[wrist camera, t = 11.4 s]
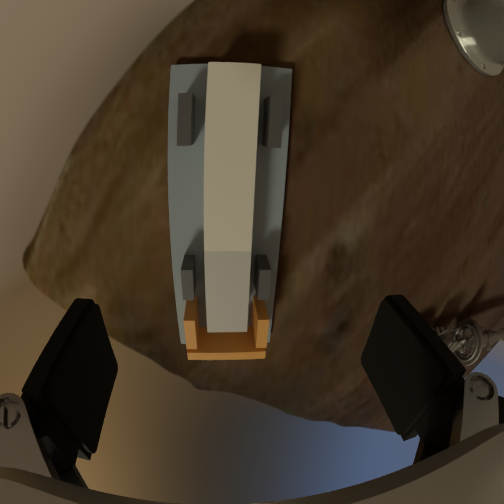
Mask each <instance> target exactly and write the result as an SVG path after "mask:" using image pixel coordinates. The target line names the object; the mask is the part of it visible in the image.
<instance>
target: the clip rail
mask: <svg viewBox="0 0 504 504" xmlns="http://www.w3.org/2000/svg"><path fill="white" fill-rule="evenodd" d="M207 75H208V64H182V65H171V75H170V92H169V115H168V196H169V221H170V239H171V253H172V266H173V278H174V288H175V298H176V307H177V316H178V324H179V332H180V339H181V344H186V347H187V349H188V350H187V354H188V360H237V359H262V358H265V354H266V350H265V348H266V345H267V342H269V341H270V333H271V324H272V315H273V306H274V297H275V288H276V278H277V268H278V258H279V247H280V237H281V226H282V214H283V203H284V190H285V178H286V164H287V150H288V136H289V120H290V103H291V84H292V69H287V68H279V67H269V66H261V79H260V97H259V116H258V135H257V153H256V172H255V191H254V210H253V228H252V247H251V266H250V285H249V304H248V323H247V332H207V317H206V294H205V264H204V143H205V114H206V93H207Z"/></svg>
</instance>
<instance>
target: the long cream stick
mask: <svg viewBox="0 0 504 504" xmlns="http://www.w3.org/2000/svg"><path fill="white" fill-rule="evenodd" d="M260 79H261V64H254V63H235V62H208V75H207V93H206V114H205V143H204V264H205V294H206V317H207V332H247V323H248V304H249V285H250V266H251V247H252V228H253V210H254V191H255V172H256V153H257V135H258V116H259V97H260Z"/></svg>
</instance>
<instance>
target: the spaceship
mask: <svg viewBox="0 0 504 504" xmlns="http://www.w3.org/2000/svg"><path fill="white" fill-rule="evenodd" d="M471 324H472V325H471ZM435 329H436V333H437V334H438V336H439V337H440V338H441V339H442V340H443V342H444V343H445V344H446V345H447V346H448V348H449V349H450V350H451V351H452V353H453V354H454V355H455V356H456V357H457V359H458V360H459V361H460V363H461V364H462V365H464V366H469V365H471V364H473V363H474V362H475V361H476V360H477V359H478V357H479V355H480V353H481V351H482V347H485V349H486V351H489V350H491V345H492V344H493V343H495V342H496V341H497V340H502V341H504V328H501V329H500V330H499V331H498V332H497V331H492V330H485V328H484V327H480V326H479V324H478V323H477V322H476V321H475V320H473V319H470V318H466V319H464V320H462V321H461V322H460V323H459V324H458V325H457V326H456V328H455V330H453V329H451V330H449V331H448V330H444V327H440V329H441V332H442V333H440V330H439V327H436V328H435ZM433 330H434V328H433ZM452 330H453V331H452ZM465 330H467V332H468V331H469V332H470V331H471V333H472V335H471V337H468V336H469V334H468V336H467V333H466V335H465V332H464V331H465ZM446 331H448V332H446ZM450 331H452V332H454V333H453V337H452V339H450V338H446V337H447V336H448V335H449V334H451V333H452V332H450ZM445 332H446V333H445ZM449 332H450V333H449ZM469 332H468V333H469ZM447 333H448V334H447ZM441 334H442V335H441ZM446 334H447V335H446ZM462 335H463V338H462ZM442 336H443V337H442ZM469 346H472V347H473V349H472V352H471V350H470V347H469ZM466 347H467V349H468V352H469V355H466V354H465V351H466ZM464 349H465V351H464ZM476 352H477V353H476ZM469 360H470V361H469Z"/></svg>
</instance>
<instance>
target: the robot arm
mask: <svg viewBox="0 0 504 504" xmlns="http://www.w3.org/2000/svg"><path fill="white" fill-rule="evenodd" d="M443 10H444V16H445V20H446V23H447V26H448V28H449V31H450V33H451V35H452V37H453V40H454V41H455V43H456V45H457V47H458V48H459V50H460V51H461V53H462V54H463V56H464V57H465V58H466V59H467V61H468V62H469V63H470V64H471V65H472V66H473V67H474V68H475V69H476V70H478V71H479V72H480V73H482V74H485V75H490V76H492V75H498V74H500V72H501V71H502V69H503V67H504V0H444V1H443ZM361 363H362V366H363V368H364V370H365V372H366V374H367V375H368V377H369V379H370V381H371V383H372V385H373V387H374V389H375V391H376V393H377V395H378V397H379V399H380V401H381V403H382V405H383V407H384V409H385V411H386V413H387V415H388V417H389V419H390V421H391V423H392V425H393V427H394V429H395V431H396V433H397V434H399V435H401V437H402V439H403V441H405V440H408V439H411V438H413V437H416V436H417V434H418V435H419V437H420V441H419V445H418V449H417V452H416V455H415V459H414V462H413V465H411V466H408V467H406V468H403V469H401V470H398V471H396V472H393V473H390V474H388V475H385V476H382V477H379V478H376V479H373V480H370V481H367V482H364V483H361V484H357V485H354V486H351V487H346V488H343V489H339V490H335V491H331V492H326V493H322V494H317V495H312V496H307V497H301V498H296V499H289V500H282V501H274V502H264V503H253V504H504V398H503V397H500V396H498V392H497V387H496V385H495V383H494V382H493V381H492V379H491V378H490V377H488V376H487V375H485V374H483V373H479V372H473V373H470V374H469V375H468V376H467V377H466V378H465V380H464V378H463V377H462V376H463V375H464V373H465V371H466V369H465V368H464V366H463V365H462V364H461V363H460V361H459V360H458V359H457V357H456V356H455V355H454V354H453V353H452V351H451V350H450V349H449V348H448V346H447V345H446V344H445V343H444V342H443V340H442V339H441V338H440V337H439V336H438V334H437V333H436V332H435V331H434V330H433V328H432V327H431V326H430V325H429V324H428V323H427V322H426V320H425V319H424V318H423V317H422V316H421V315H420V314H419V312H418V311H417V310H416V309H415V308H414V307H413V306H412V305H411V304H410V302H409V301H408V300H407V299H406V298H405V297H404V296H403V295H389V296H386V297H385V299H384V300H383V301H382V302H381V303H380V306H379V309H378V312H377V315H376V318H375V321H374V324H373V327H372V329H371V332H370V335H369V338H368V340H367V343H366V346H365V348H364V351H363V353H362V356H361ZM117 371H118V365H117V361H116V358H115V356H114V353H113V350H112V347H111V344H110V341H109V337H108V334H107V331H106V328H105V324H104V321H103V318H102V314H101V310H100V307H99V305H98V304H95V302H94V301H93V300H92V299H81V298H77V299H75V300H74V302H73V303H72V305H71V306H70V308H69V309H68V311H67V312H66V314H65V315H64V317H63V318H62V320H61V321H60V323H59V325H58V326H57V328H56V329H55V331H54V333H53V334H52V336H51V338H50V339H49V341H48V343H47V344H46V346H45V348H44V349H43V351H42V353H41V355H40V356H39V358H38V360H37V362H36V364H35V365H34V367H33V369H32V371H31V373H30V375H29V377H28V379H27V380H26V382H25V384H24V386H23V388H22V392H23V393H22V396H21V398H20V397H19V396H18V395H16V394H13V393H5V394H1V395H0V504H177V503H165V502H156V501H148V500H141V499H135V498H129V497H124V496H118V495H113V494H108V493H104V492H100V491H95V490H91V489H89V488H88V487H87V485H86V483H85V481H84V480H83V478H82V476H81V475H80V473H79V471H78V469H77V467H76V465H75V463H76V459H77V457H79V458H83V459H87V460H90V459H91V454H92V453H95V452H96V450H97V447H98V442H99V438H100V433H101V430H102V425H103V421H104V418H105V414H106V410H107V407H108V403H109V399H110V396H111V392H112V389H113V385H114V382H115V379H116V375H117Z"/></svg>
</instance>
